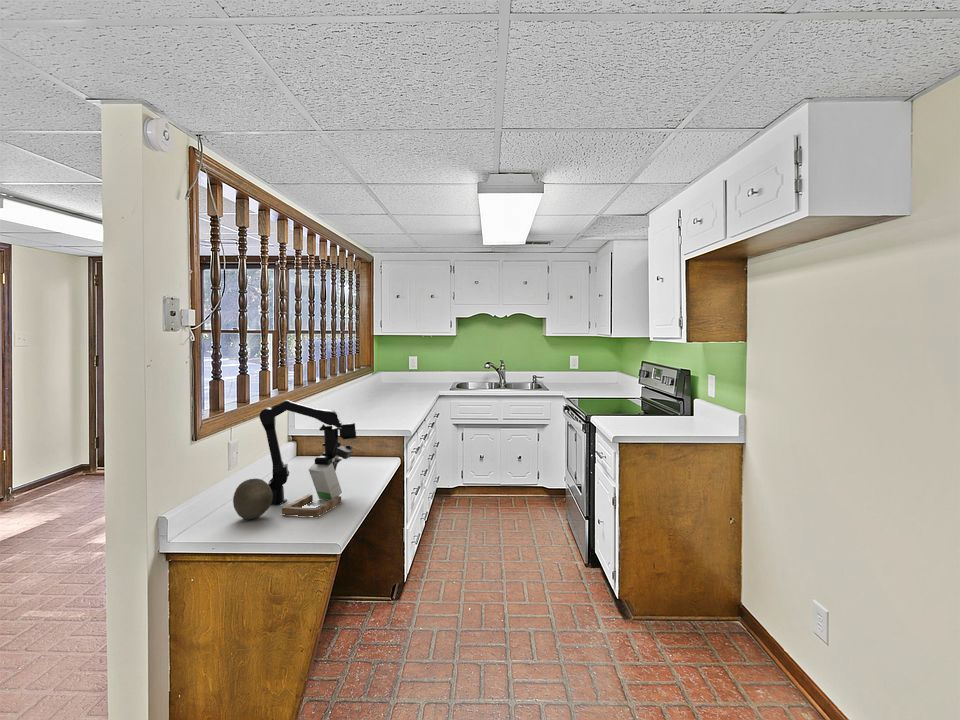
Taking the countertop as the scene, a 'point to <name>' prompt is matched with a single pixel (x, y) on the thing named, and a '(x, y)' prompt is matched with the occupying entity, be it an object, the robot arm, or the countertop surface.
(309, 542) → the countertop surface
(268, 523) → the countertop surface
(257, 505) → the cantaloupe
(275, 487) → the robot arm
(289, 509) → the wooden tray
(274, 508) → the countertop surface
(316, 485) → the skincare box
